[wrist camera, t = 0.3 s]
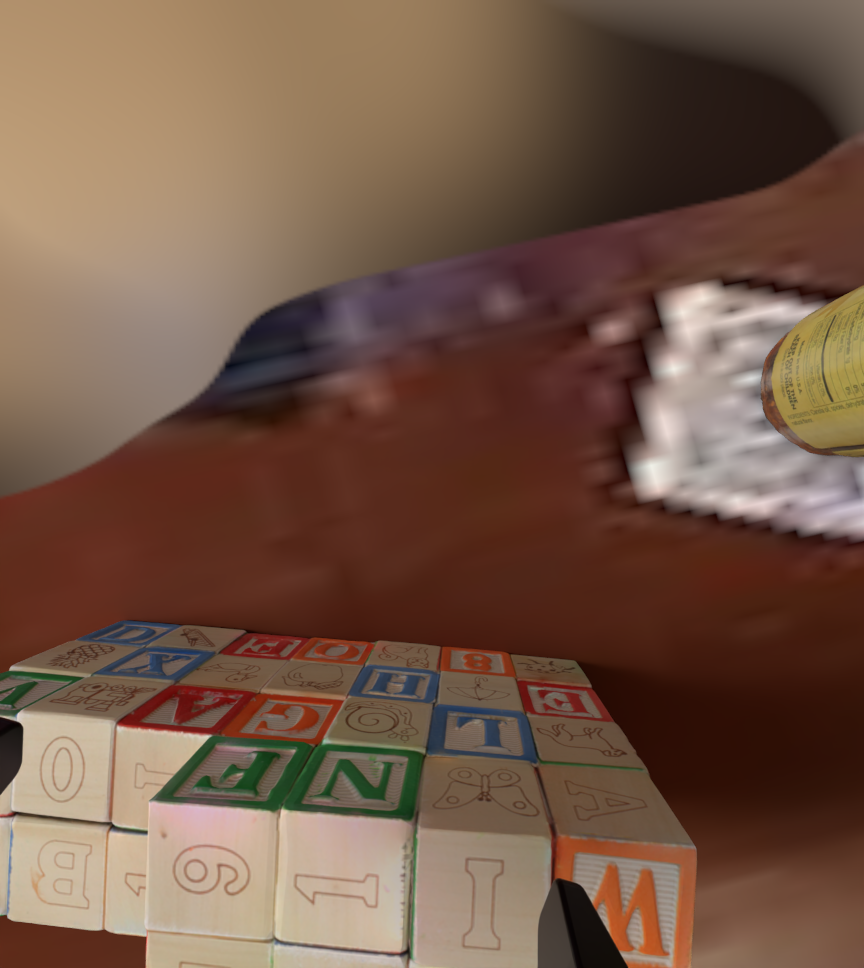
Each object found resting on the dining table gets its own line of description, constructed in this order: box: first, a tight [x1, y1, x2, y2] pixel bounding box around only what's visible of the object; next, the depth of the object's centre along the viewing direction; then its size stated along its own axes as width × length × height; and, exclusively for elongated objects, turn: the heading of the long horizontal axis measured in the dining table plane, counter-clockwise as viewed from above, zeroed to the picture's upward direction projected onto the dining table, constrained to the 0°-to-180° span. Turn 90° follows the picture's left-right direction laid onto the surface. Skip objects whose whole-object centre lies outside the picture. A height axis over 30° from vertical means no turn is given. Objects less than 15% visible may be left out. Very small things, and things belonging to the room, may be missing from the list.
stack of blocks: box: [0, 621, 697, 968], centre depth 18 cm, size 21×6×12 cm, turn 86°
